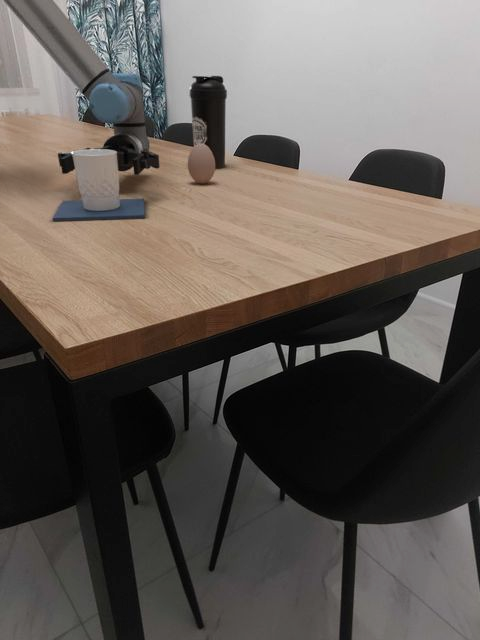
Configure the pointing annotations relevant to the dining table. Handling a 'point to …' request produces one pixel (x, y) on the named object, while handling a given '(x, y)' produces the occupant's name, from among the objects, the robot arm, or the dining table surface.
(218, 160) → the water bottle
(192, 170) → the egg
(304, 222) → the dining table surface
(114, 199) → the white cup
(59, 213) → the glassware mat
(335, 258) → the dining table surface
